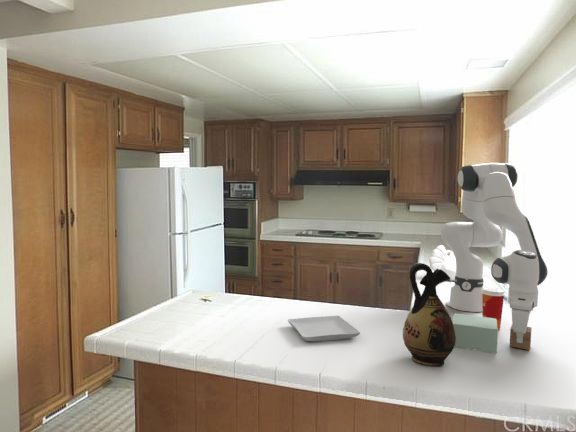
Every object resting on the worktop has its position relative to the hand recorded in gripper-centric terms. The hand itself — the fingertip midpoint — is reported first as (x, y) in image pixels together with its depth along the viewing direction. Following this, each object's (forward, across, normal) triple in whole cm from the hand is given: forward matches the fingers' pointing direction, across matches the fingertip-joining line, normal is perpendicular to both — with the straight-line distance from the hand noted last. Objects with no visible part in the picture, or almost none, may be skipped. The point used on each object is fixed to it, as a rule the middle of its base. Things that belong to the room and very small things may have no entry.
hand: (520, 339), depth 150 cm
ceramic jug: (+3, +31, -24) cm, 39 cm away
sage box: (+3, +5, -14) cm, 15 cm away
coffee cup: (+3, -17, -11) cm, 20 cm away
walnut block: (+2, 0, 0) cm, 2 cm away
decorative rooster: (+4, -107, -46) cm, 117 cm away
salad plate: (+3, +26, -62) cm, 67 cm away
